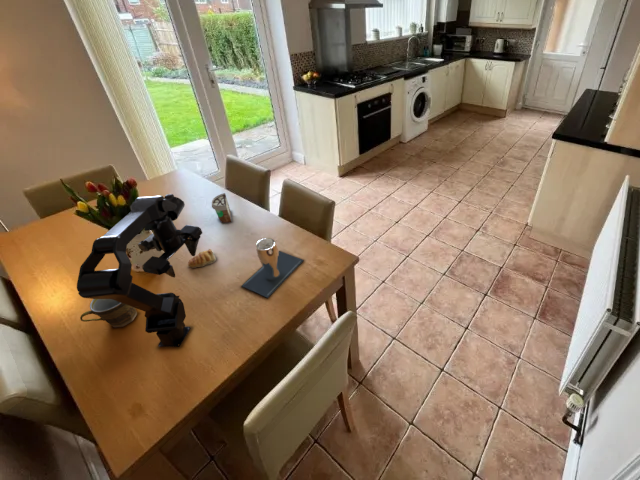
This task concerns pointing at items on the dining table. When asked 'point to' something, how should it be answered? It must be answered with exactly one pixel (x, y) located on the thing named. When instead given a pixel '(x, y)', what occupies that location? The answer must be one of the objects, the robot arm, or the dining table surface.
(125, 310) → the ceramic cup
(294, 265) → the mat
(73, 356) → the dining table surface
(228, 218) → the food container
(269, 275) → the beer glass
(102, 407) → the dining table surface
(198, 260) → the pastry
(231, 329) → the dining table surface
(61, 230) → the dining table surface
